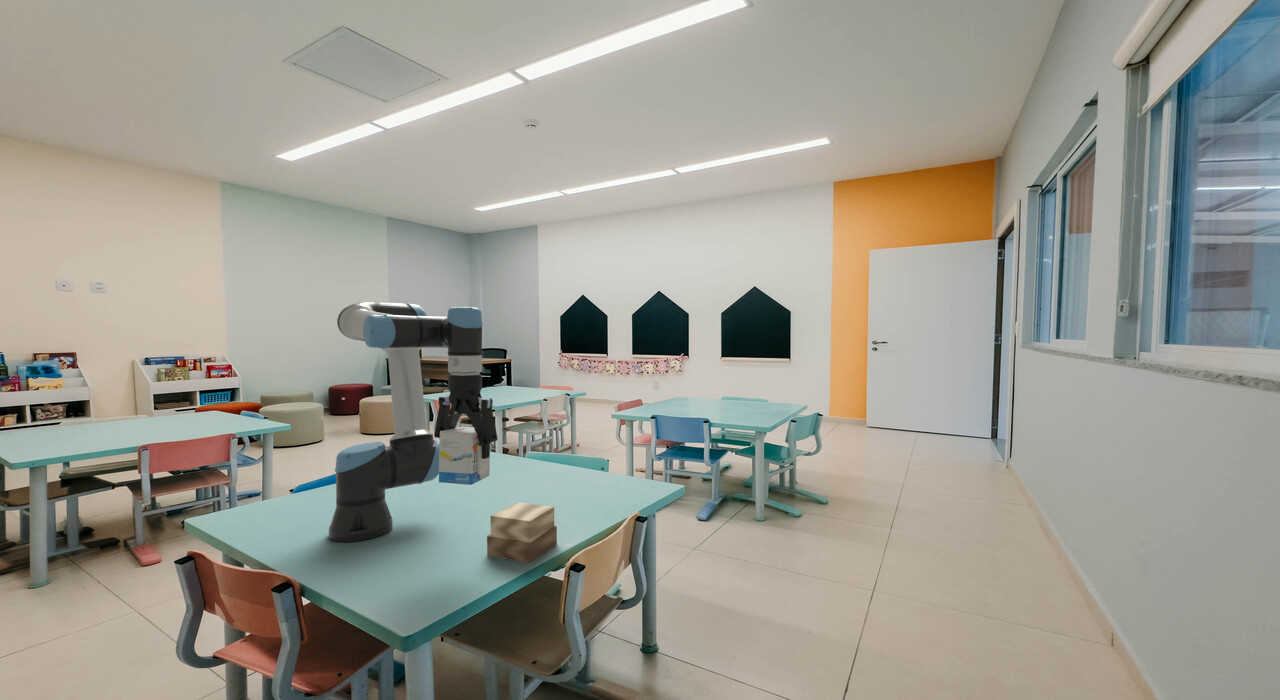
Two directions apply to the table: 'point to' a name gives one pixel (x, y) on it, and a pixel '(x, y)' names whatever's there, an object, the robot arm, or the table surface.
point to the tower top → (522, 522)
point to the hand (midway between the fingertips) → (465, 470)
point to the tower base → (521, 547)
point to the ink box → (459, 456)
